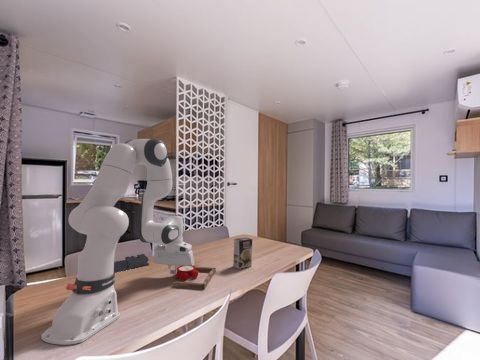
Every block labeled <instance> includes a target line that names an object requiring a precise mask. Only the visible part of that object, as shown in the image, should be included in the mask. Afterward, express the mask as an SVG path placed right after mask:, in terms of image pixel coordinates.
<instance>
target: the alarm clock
mask: <svg viewBox="0 0 480 360" xmlns="http://www.w3.org/2000/svg"><path fill="white" fill-rule="evenodd" d="M198 276H199V271H197V270H195V265H193V264H192V265H191V266H178V268H177V270H176V274H175V277H176V278H177V279H179V280H180V281H181V282H185V281H186V280H189V279H193V280H195V279H197V277H198Z"/></svg>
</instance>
